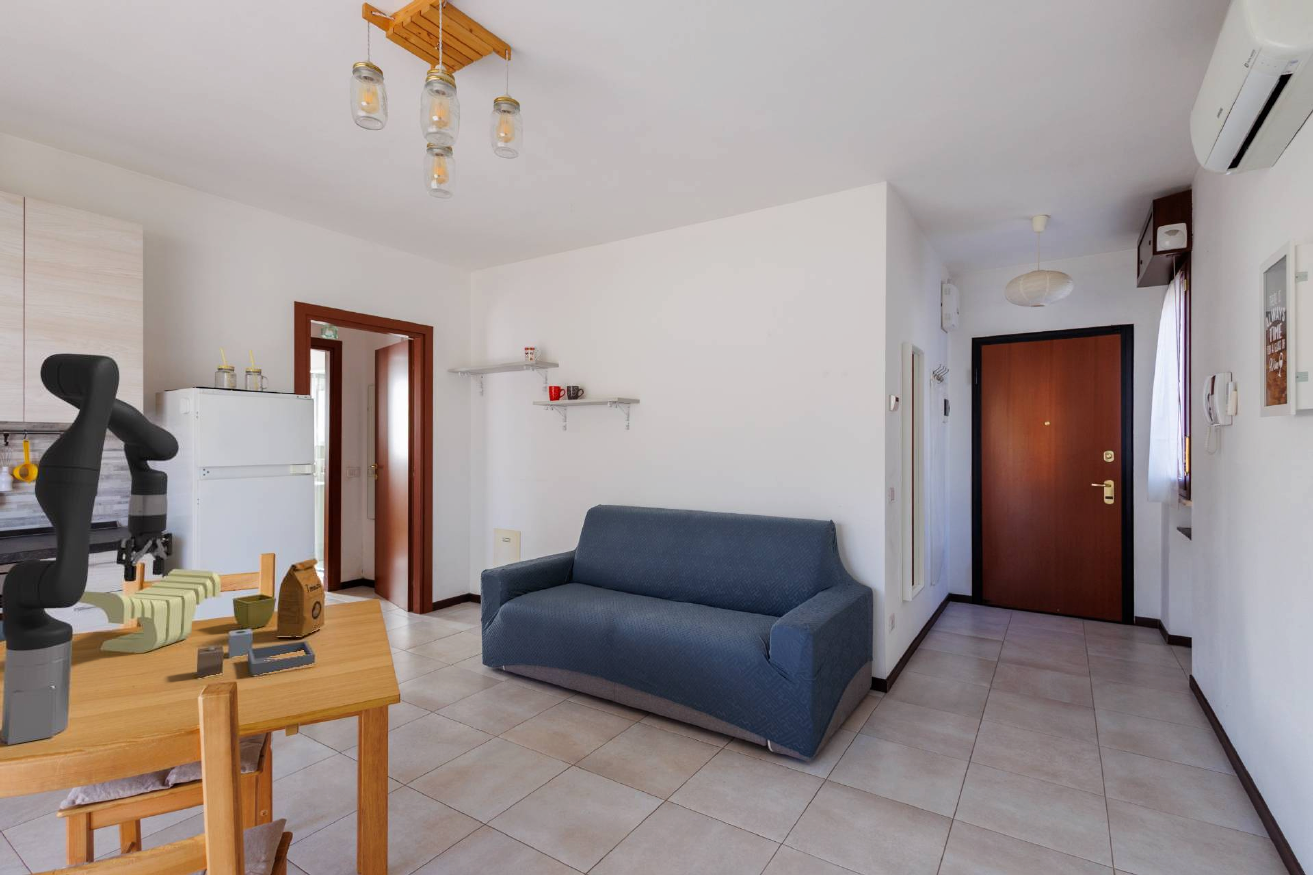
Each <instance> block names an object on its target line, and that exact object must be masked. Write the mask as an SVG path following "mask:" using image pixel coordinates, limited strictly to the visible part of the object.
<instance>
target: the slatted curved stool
mask: <svg viewBox="0 0 1313 875" xmlns="http://www.w3.org/2000/svg"><path fill="white" fill-rule="evenodd" d="M221 584H222V583H221V578H220V576H219V575H218V574H217V573H216V572H214V571H210V570H199V569H198V570H196V569H181V568H180V569H179V568H178V569H177V568H173V569H172V570H170V572H168V574H167V575H165V576H162V577H161V578H160V579H159V581H155V582H154V583H152V584H151V585H150V586H146V587H145V588H143V589H141V590H138V591H136V592H134V593H129V594H126V595H125V594H124V595H123V594H120V593H119V594H118V593H115V592H112V593H111V592H100V591H84V593H83V595H82V597H81V599H80V600H79V601H78V603H80V604H81V603H82V604H88V605H92V606H94V607H98V608H99V609H101V610H103V612H104V613H105V615H106V617H107V620H108V621H107V622H108V624H121V625H125V624H126V623H128V622H130V621H131V620H132V619H133V620H135V619H137V621H138V623H139V624H140V626H141V628H142V630H138V631H134V632H133V633H128V634H125V635H122V636H117V637H116V638H112V639H108V640H104V641H103V643H102V645H101V647H100V649H101V650H100V649H99V650H100V651H109V650H110V651H111V652H122V653H123V652H124V653H133V652H134V653H135V654H136V653H137V654H143V653H147V652H150V651H153V650H156V649H158V648H159V649H160V648H162V647H165V646H168V645H170V644H173V643H176V642H180V641H182V640H185V639H188V638H189V637H190V635H191V632H192V625H193V622H194V616H195V613H196V611H197V606H200V604H202V602H204V601H205V600H206V599H211V598H214V597H215V598H216V597H217V598H221V588H222V585H221Z"/></svg>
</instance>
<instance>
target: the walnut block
mask: <svg viewBox="0 0 1313 875" xmlns="http://www.w3.org/2000/svg"><path fill="white" fill-rule="evenodd" d="M196 660H197V664H196V679H197V678H202V679H205V678H204V677H206V676H210V675H216V674H220V673H222V674H223V668H224V667H223V666H224V665H223V664H224V646H223V645H222V644H221V645H216V646H215V645H214V646H208V647H201V648H198V649H197V658H196Z"/></svg>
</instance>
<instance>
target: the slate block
mask: <svg viewBox="0 0 1313 875" xmlns="http://www.w3.org/2000/svg"><path fill="white" fill-rule="evenodd" d="M228 632H229V633H228V648H227V649H228V650H227V651H228V652H227V654H229V655H228V659H229V658H231V659H233V658H232V657H234V656H243V655H247V654H248V649H251V648H253V633H254V632H253V629H245V628H243V629H239V630H231V631H228Z"/></svg>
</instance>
